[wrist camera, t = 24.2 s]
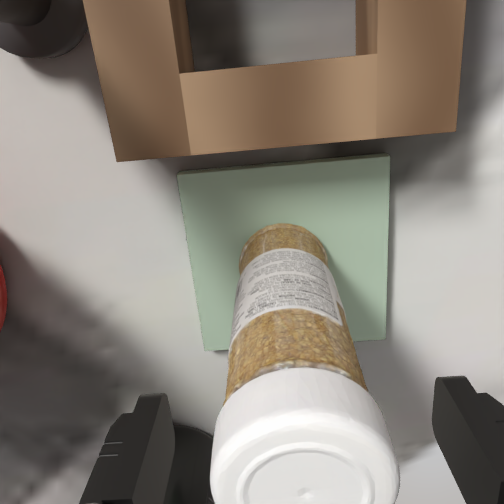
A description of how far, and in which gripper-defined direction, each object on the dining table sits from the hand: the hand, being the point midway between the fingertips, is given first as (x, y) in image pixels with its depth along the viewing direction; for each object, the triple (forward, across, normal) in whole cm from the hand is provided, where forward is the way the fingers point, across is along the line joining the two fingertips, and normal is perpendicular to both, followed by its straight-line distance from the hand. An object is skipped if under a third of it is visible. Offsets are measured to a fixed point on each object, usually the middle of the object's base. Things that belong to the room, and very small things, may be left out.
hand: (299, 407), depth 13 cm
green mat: (+11, 0, 0) cm, 11 cm away
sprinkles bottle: (+10, 0, 0) cm, 10 cm away
